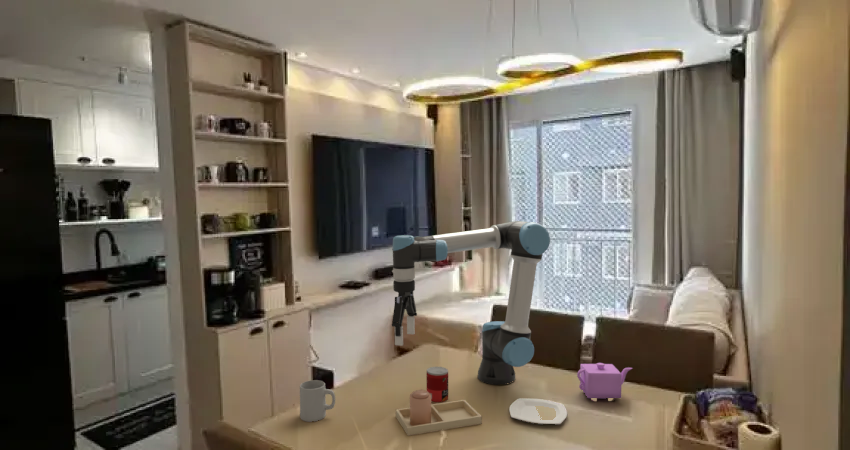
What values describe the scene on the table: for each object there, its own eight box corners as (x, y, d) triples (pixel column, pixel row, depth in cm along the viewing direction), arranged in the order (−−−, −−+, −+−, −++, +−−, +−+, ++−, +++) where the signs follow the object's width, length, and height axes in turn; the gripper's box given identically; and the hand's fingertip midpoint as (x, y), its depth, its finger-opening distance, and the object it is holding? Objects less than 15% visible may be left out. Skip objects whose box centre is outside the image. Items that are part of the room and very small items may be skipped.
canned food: (446, 404, 179) (446, 374, 179) (424, 402, 181) (424, 372, 180) (449, 396, 187) (449, 367, 186) (428, 394, 188) (428, 365, 188)
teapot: (580, 402, 181) (581, 368, 180) (573, 391, 191) (573, 358, 190) (637, 403, 180) (637, 368, 180) (626, 392, 190) (627, 359, 190)
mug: (296, 421, 166) (295, 389, 166) (304, 410, 175) (304, 379, 174) (332, 422, 166) (331, 390, 165) (338, 411, 174) (338, 380, 173)
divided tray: (464, 407, 177) (464, 399, 176) (481, 425, 163) (481, 416, 163) (395, 418, 169) (395, 409, 168) (407, 437, 155) (407, 428, 155)
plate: (568, 408, 177) (568, 402, 177) (565, 432, 159) (565, 426, 159) (514, 400, 183) (514, 395, 183) (504, 423, 165) (504, 417, 165)
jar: (427, 416, 168) (427, 388, 168) (434, 425, 162) (434, 395, 161) (407, 419, 166) (407, 390, 166) (413, 429, 160) (413, 398, 159)
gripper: (404, 273, 189) (406, 329, 191) (381, 285, 165) (382, 349, 167) (424, 274, 187) (425, 330, 189) (403, 286, 163) (404, 350, 165)
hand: (405, 339), depth 178 cm, fingers open, 13 cm apart
